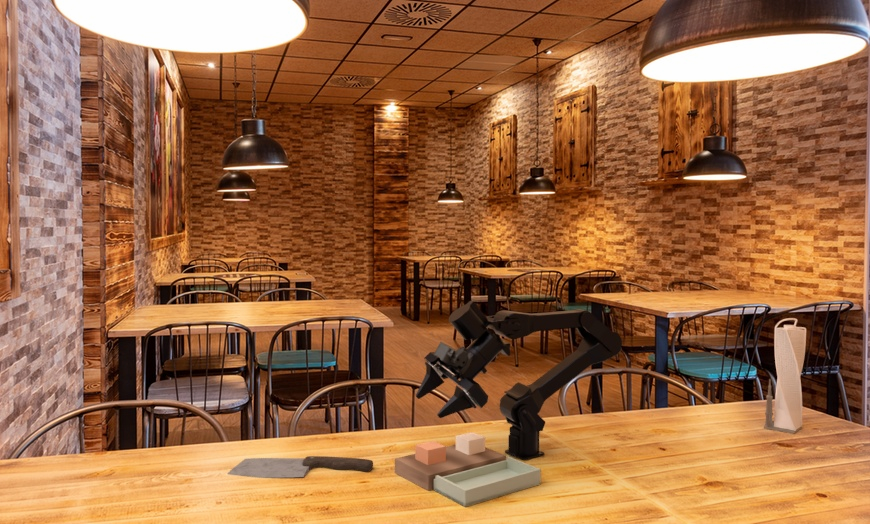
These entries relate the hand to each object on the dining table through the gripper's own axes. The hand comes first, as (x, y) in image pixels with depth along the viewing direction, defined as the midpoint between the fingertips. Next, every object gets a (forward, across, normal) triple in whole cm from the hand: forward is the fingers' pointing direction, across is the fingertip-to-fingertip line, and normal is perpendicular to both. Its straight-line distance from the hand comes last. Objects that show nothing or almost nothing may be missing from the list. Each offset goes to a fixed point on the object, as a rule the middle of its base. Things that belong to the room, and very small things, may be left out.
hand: (427, 406), depth 141 cm
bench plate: (+6, +8, +10) cm, 14 cm away
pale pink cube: (0, +6, +12) cm, 13 cm away
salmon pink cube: (+7, +7, +5) cm, 11 cm away
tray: (+3, +19, +9) cm, 21 cm away
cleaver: (+28, -8, -5) cm, 30 cm away
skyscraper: (-63, +26, +69) cm, 97 cm away
